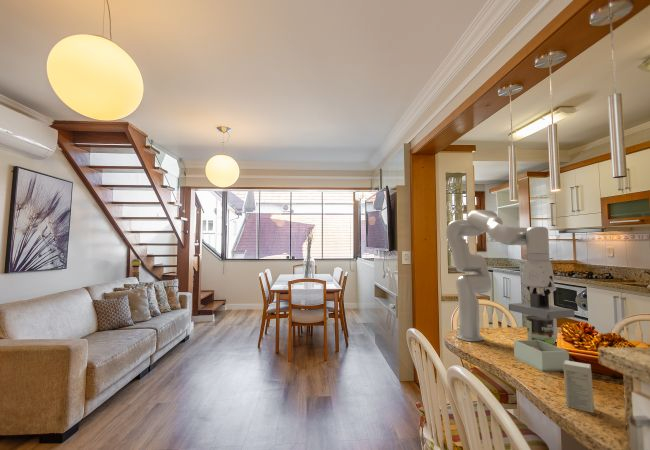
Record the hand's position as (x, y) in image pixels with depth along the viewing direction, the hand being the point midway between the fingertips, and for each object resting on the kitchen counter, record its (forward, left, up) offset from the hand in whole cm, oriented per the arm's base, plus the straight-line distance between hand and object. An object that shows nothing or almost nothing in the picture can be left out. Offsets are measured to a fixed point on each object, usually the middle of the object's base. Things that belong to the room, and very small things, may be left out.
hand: (539, 304), depth 127 cm
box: (-2, +1, -23) cm, 24 cm away
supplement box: (-29, +27, -24) cm, 46 cm away
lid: (0, 0, -3) cm, 3 cm away
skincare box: (+31, -14, -24) cm, 41 cm away
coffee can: (-18, +15, -24) cm, 33 cm away
